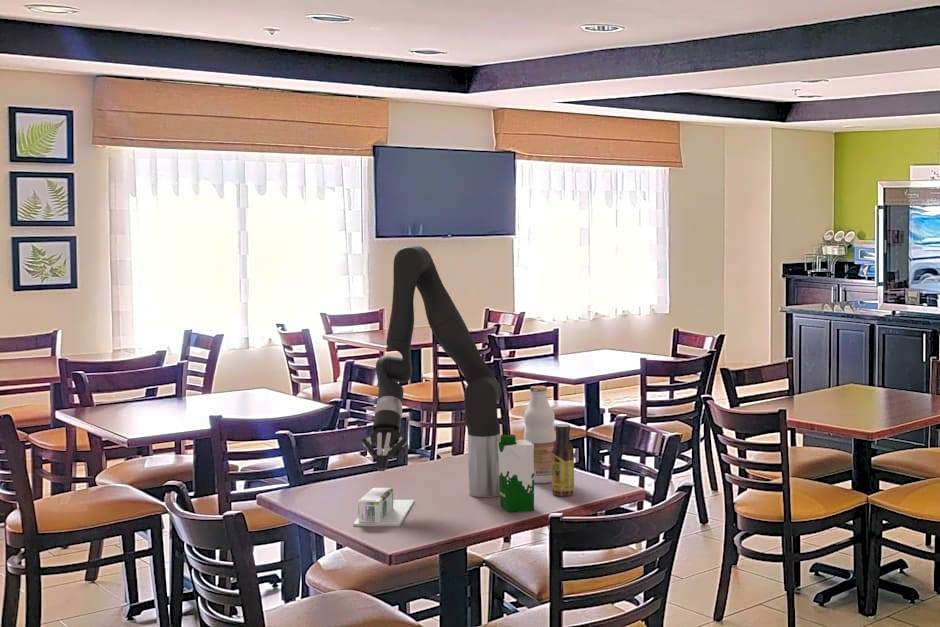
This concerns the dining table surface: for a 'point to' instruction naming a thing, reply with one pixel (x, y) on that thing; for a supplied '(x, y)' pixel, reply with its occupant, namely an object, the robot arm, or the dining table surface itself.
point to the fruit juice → (540, 433)
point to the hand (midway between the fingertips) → (381, 469)
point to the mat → (391, 515)
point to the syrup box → (375, 505)
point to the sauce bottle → (562, 462)
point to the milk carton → (516, 474)
